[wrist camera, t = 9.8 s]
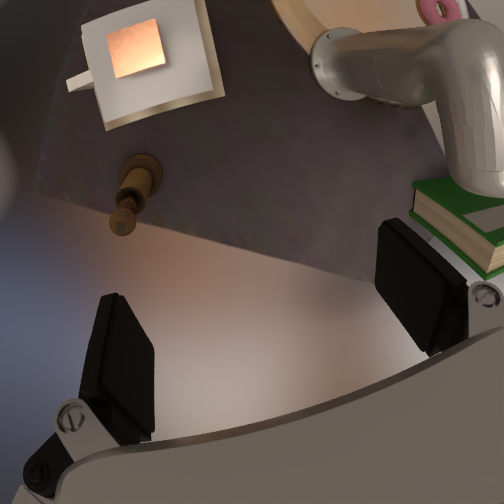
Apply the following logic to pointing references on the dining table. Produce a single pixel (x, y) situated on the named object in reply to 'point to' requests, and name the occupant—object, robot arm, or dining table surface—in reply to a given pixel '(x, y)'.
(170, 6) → the press pot
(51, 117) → the dining table surface
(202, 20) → the birch board
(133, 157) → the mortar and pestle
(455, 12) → the doughnut
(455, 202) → the hardback book
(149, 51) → the brown square-faced block
